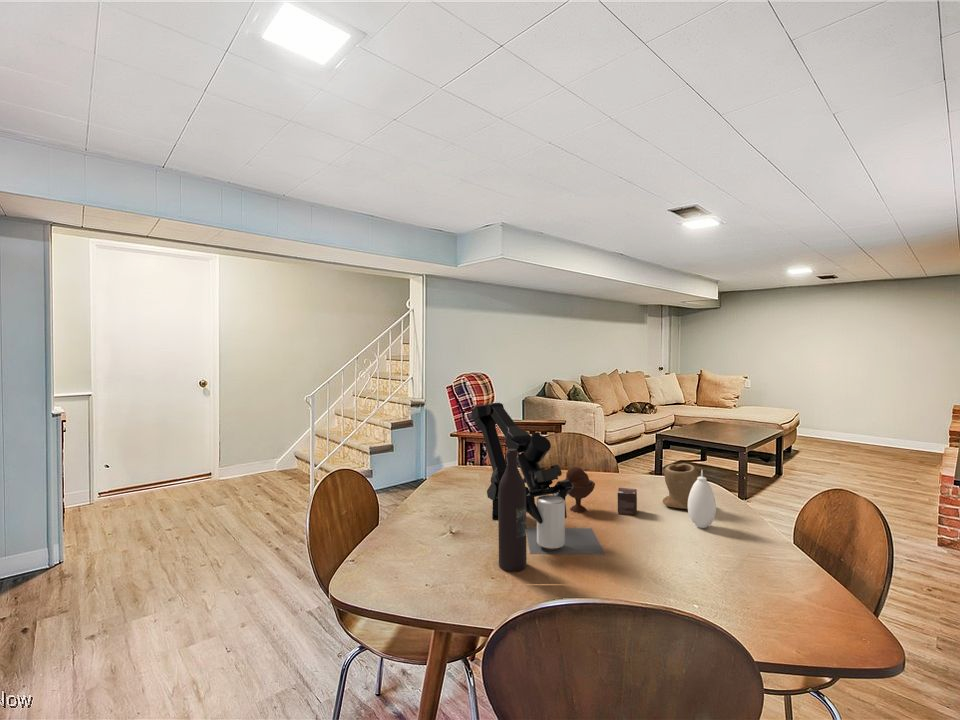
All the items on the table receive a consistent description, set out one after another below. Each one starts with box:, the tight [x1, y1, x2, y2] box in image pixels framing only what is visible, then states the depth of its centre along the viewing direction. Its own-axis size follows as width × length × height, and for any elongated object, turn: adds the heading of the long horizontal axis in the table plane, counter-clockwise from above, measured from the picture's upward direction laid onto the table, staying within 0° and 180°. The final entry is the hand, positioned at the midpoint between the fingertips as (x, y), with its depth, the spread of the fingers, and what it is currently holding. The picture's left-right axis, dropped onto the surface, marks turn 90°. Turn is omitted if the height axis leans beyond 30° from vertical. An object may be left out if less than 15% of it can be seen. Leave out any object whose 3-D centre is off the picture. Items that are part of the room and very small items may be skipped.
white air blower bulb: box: [687, 469, 717, 529], centre depth 147 cm, size 8×8×18 cm
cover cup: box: [536, 494, 566, 548], centre depth 133 cm, size 7×7×12 cm
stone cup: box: [662, 462, 699, 510], centre depth 164 cm, size 15×12×15 cm
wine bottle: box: [497, 449, 527, 573], centre depth 122 cm, size 7×7×30 cm
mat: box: [526, 527, 606, 555], centre depth 138 cm, size 20×18×1 cm
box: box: [617, 487, 638, 516], centre depth 161 cm, size 6×6×7 cm
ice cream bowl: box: [564, 466, 596, 514], centre depth 163 cm, size 11×11×15 cm
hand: (553, 520), depth 131 cm, fingers closed on cover cup, 7 cm apart
